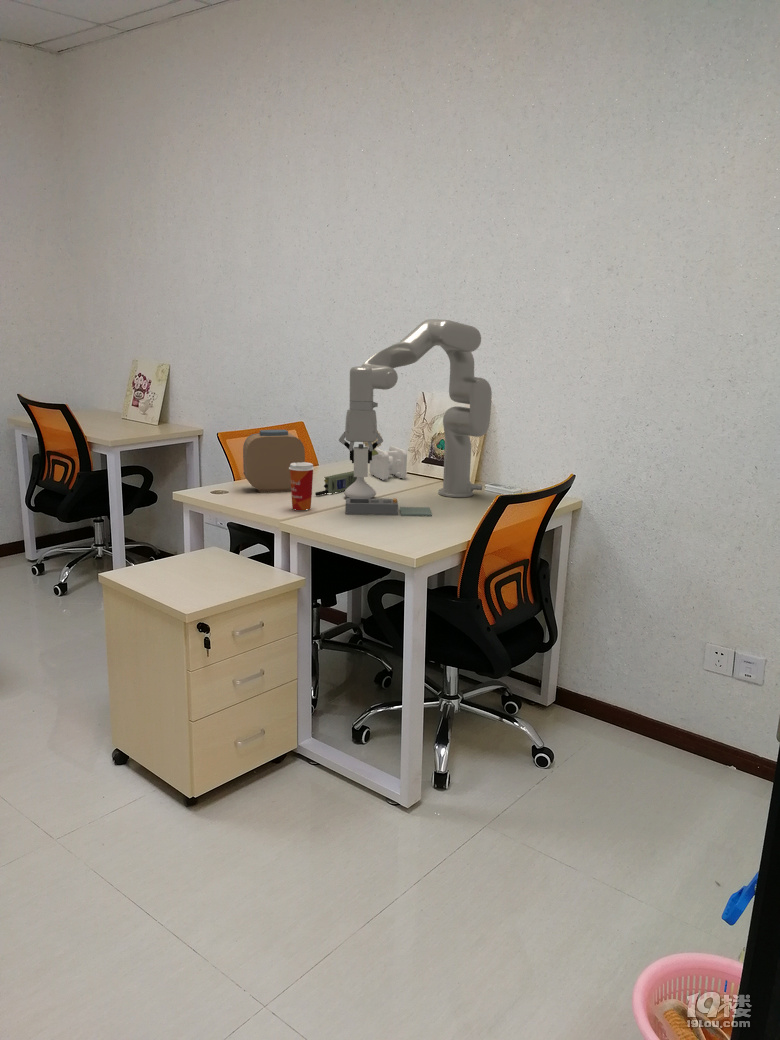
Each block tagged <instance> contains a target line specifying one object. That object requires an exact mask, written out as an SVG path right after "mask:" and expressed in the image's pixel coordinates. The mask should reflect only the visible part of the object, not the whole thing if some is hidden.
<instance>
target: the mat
mask: <svg viewBox="0 0 780 1040" xmlns="http://www.w3.org/2000/svg"><path fill="white" fill-rule="evenodd" d="M399 512H400V516H401V517H432V516H433V514H432V510H431V507H428V506H421V507H420V506H399Z"/></svg>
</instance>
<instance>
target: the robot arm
mask: <svg viewBox="0 0 780 1040" xmlns="http://www.w3.org/2000/svg"><path fill="white" fill-rule="evenodd" d="M481 342H482V335H481V333H480V331H479V330H478V329H477V327H475V326H473V325H468V324H465V323H461V322H458V321H457V322H456V321H453V320H450V319H438V318H437V319H436V318H430V319H425V320H424V321H422V322H420V323H419V324H418V325H417V326H416V327H415V328H414V329H413V330H412V331H411V332H409V333H408V334H407V335H406V336H404V337H403V338H402V340H400V341H399V342H396V343H394V344H392V345H389V346H388V347H385V348H384V349H382V350H379V351H377V352H376V353H374V354H373V355H372V356H370V357H369V358H368V359H367V360H366V361H365V362H364V363H363V364H361V366H352V367H351V368H350V370H349V409H347V410H346V415H345V427H344V428H345V429H344V431H343V433H342V434H341V436H339V438H338V441H339V443H340V444H342V445H343V446H345V448H347V450H348V451H349V461H351V464H354V447H355V446H354V445H355V443H363V442H368V446H369V448H368V465H370V461H372V451H373V450H374V449H375V448H378V447H377V446H378V445H379V444H381V445H382V443H383V442H384V439H383V436H382V435H381V434H380V435H381V436H382V437H381V436H380V435H379V433H380V432H379V431H378V432H377V430H378V422H377V413H376V410H375V409H374V408H378V406H379V405H378V402H375V401H374V390H386V391H387V390H390V389H392V388H394V387H395V386H396V384H397V383H398V379H399V378H398V377H399V376H398V373H397V371H396V370H395V368H396V369H397V368H401V367H405V366H410V365H413V364H415V363H417V362H418V361H419V360H420V359H421V358H422V357H424V356H425V355H426V353H427V354H428V352H429V351H430V350H432V349H433V348H434V347H436V346H440V348H441V349H443V351H444V352H445V353H446V354H447V357H448V359H449V369H450V370H449V383H448V393H449V394H448V395H449V398H450V400H452V401H453V402H456V403H458V404H465V405H469V407H466V406H452V407H450V408H448V409H447V410H446V411H445V412H444V415H443V418H442V424H443V425H442V427H443V431H444V457H443V477H442V478H443V479H442V480H443V483H442V488H440V489H439V490H438V494H439V495H440V496H443V497H448V498H470V497H472V496H473V495H474V491H483V484H478V483H477V484H476V483H471V482H472V481H470V480H471V478H470V477H471V460H472V443H471V439H470V437H476V438H480V437H483V436H484V435H486V433H487V432H488V430H489V427H490V425H491V423H490V422H491V411H492V410H491V409H492V393H493V392H492V388H491V384H490V382H489V381H488V380H487V379H485V378H482V377H477V376H476V377H475V358H474V356H473V353H472V352H475V351H476V350H477V349H478V348H479V347H480V346H481ZM376 439H378V440H377V441H376ZM374 441H376V442H375V443H374V444H372V442H374Z"/></svg>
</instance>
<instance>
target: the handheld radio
mask: <svg viewBox="0 0 780 1040" xmlns="http://www.w3.org/2000/svg"><path fill="white" fill-rule="evenodd" d="M356 479H357V477H354V470H352V471H348V472H343V473H337V474H332V475H327V476H324V485H323V487H324V488H325V490H321V491H316V492H315V494H314V495H315V496H316V497H317V496H323V495H327V493H335V492H340V491H344V490H346V489H347V488H348V487H349V486H350V485H352V484H353V483H354V482H355V481H356ZM325 493H326V494H325ZM340 493H341V492H340ZM322 494H323V495H322Z"/></svg>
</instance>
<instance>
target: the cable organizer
mask: <svg viewBox="0 0 780 1040" xmlns="http://www.w3.org/2000/svg"><path fill="white" fill-rule="evenodd" d="M375 450H376V451H377V452H378V453H379V454H377V455H374V456H372V461H370V464H369V473H370V474H371V476H373V475H374V476H376V477H375V478H378V479H379V478H380V479H382V480H381V481H387V480H388V479H389V478H390V475H391V474H393V475H395V476H394V477H397V478H398V477H399V478H398V479H400V478H403V479H405V478H406V477H407V466H408V465H407V464H408V459H407V458H408V454H407V451H406V450H405V449H403V448H400V447H398V446H395V445H391V446H389V448H388V450H384V449H381V448H379V447H376V448H375ZM393 475H392V476H393ZM374 476H373V477H374ZM380 479H379V480H380Z"/></svg>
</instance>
